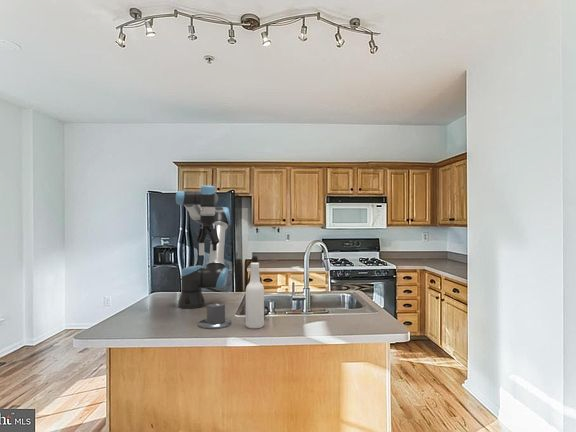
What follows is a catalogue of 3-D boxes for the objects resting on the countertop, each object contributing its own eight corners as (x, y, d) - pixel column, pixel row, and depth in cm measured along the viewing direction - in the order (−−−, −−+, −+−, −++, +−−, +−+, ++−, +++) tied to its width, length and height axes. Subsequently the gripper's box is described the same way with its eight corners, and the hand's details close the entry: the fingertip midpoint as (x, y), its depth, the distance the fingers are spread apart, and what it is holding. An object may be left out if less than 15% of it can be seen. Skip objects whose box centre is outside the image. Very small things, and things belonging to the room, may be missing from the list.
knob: (206, 322, 178) (206, 303, 179) (218, 319, 182) (218, 301, 183) (213, 324, 173) (212, 305, 174) (225, 322, 177) (224, 303, 178)
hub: (192, 323, 179) (192, 309, 179) (221, 318, 189) (221, 304, 189) (207, 331, 167) (207, 315, 167) (238, 324, 177) (238, 310, 177)
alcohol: (246, 323, 179) (247, 261, 180) (264, 323, 179) (265, 262, 180) (244, 328, 170) (244, 264, 171) (263, 329, 170) (263, 264, 171)
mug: (265, 323, 180) (265, 304, 181) (243, 320, 184) (243, 302, 184) (272, 318, 189) (272, 300, 189) (251, 316, 193) (251, 299, 193)
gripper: (190, 215, 199) (190, 254, 199) (212, 214, 180) (212, 258, 179) (203, 215, 204) (203, 254, 203) (226, 215, 184) (226, 257, 184)
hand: (207, 256), depth 191 cm, fingers open, 13 cm apart
